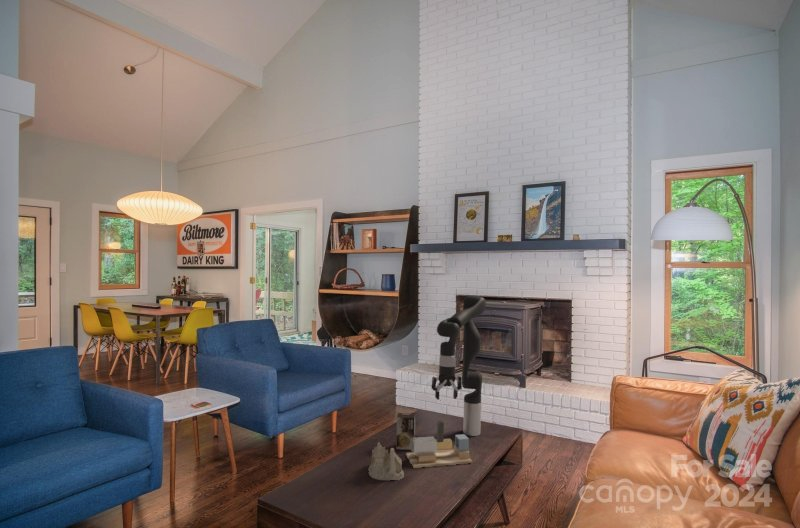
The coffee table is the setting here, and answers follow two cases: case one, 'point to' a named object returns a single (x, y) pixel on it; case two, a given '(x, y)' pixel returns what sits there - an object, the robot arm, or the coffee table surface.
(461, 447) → the slate-blue socket
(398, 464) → the ceramic cottage
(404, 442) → the coffee box
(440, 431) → the multicoloured piece
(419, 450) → the grey and tan block
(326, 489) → the coffee table surface
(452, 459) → the birch board
